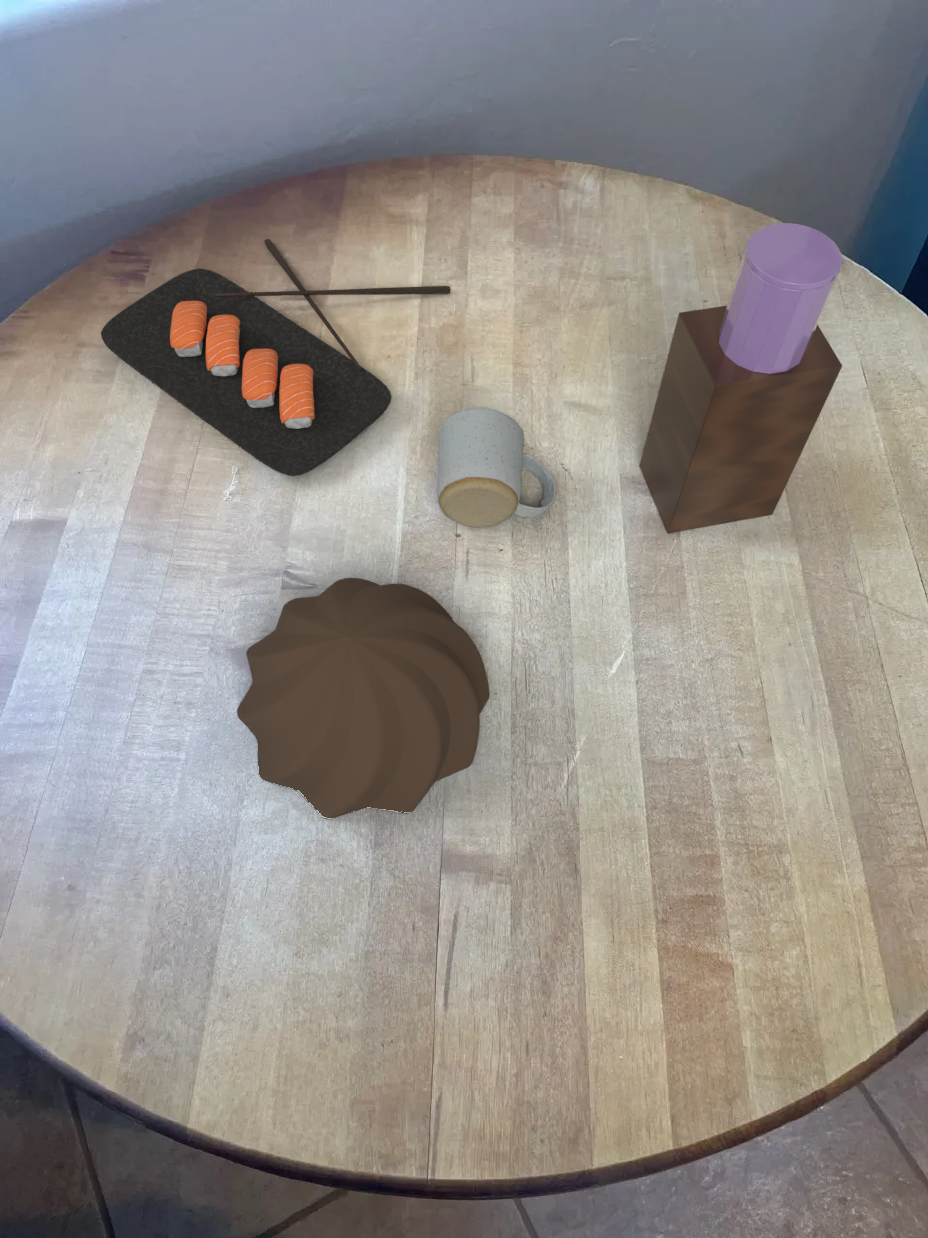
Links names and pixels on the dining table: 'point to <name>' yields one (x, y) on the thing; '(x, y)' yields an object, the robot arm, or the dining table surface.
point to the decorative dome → (364, 697)
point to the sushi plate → (252, 366)
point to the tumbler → (778, 297)
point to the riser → (728, 427)
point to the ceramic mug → (486, 469)
